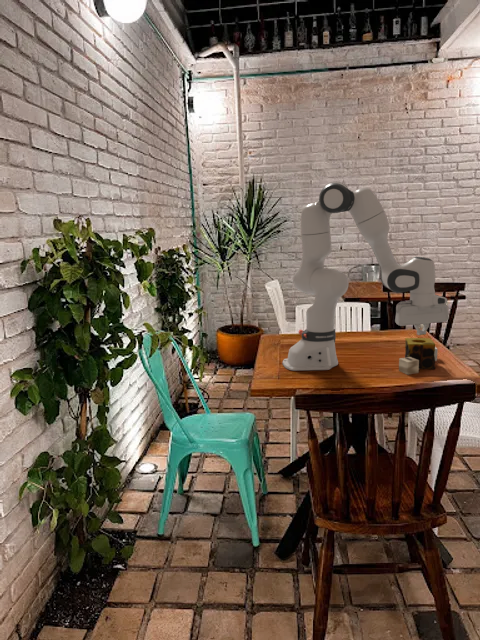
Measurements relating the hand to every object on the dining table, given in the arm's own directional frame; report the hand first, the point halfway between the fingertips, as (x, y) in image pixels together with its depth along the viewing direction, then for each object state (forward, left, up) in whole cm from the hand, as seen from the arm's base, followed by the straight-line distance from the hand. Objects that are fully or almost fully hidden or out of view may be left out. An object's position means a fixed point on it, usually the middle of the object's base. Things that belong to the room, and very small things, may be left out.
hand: (421, 334), depth 184 cm
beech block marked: (-8, -6, -13) cm, 16 cm away
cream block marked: (+8, +7, -13) cm, 16 cm away
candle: (0, 0, -13) cm, 13 cm away
